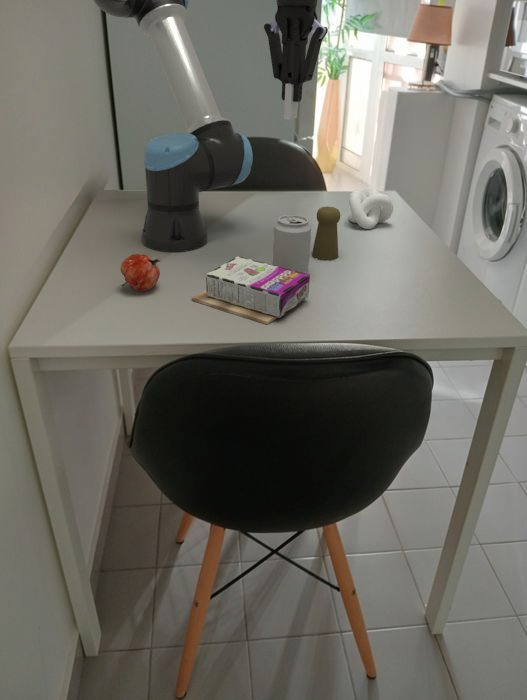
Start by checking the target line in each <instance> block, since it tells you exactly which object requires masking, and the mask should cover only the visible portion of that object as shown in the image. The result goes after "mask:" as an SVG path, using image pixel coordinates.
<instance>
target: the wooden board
mask: <svg viewBox="0 0 527 700" xmlns="http://www.w3.org/2000/svg"><path fill="white" fill-rule="evenodd" d="M191 301H192V302H194V303H195V302H196V303H199V304H201V305H204V306H208V307H211V308H214V309H217V310H220V311H223V312H227V313H230V314H232V315H235V316H239V317H241V318H242V317H243V318H245V319H249V320H251V321H255V322H257V323H261V324H264V325H270V324H271V323H272V322H274V320H276V319H279V318H278V317H275V316H271V315H268V314H265V313H261V312H258V311H255V310H251V309H248V308H245V307H242V306H238V305H235V304H231V303H228V302H224V301H221V300H218V299H214V298H211V297H207V288H206V289H203V291H201V292H199V293H198V294H196V295H193V296H192V297H191Z"/></svg>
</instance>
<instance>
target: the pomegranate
mask: <svg viewBox="0 0 527 700" xmlns="http://www.w3.org/2000/svg"><path fill="white" fill-rule="evenodd" d="M159 262H160V263H161V260H160V259H158V258H156V259H152V257H151V256H149V255H148V254H147V255H146V254H142V253H141V254H139V253H132V254H131V255H129V256H127V257H125V259H124V260H123V261H122V263H121V265H120V268H119V269H120V273H121V274H122V275H123V277H124V281H125V282H124V283H123V284H121V287H124V286H125V285H127V284H128V285H129V286H131V287H132V288H133V289H134V290H135V291H137V292H146V291H149V290H150V289H152V288H153V287H154V286H155V285H156V284H157V283H158V282H159V279H160V276H161V270H160V267H159V266H158V264H157V263H159Z"/></svg>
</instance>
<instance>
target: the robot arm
mask: <svg viewBox="0 0 527 700" xmlns="http://www.w3.org/2000/svg"><path fill="white" fill-rule="evenodd" d="M93 2H94V4H95V5H96V6H97V7H98V8H99V9H100V10H102V11H103V12H105V13H106V14H107V15H110V16H113V17H116V18H126V19H127V18H131V19H133V18H134V19H135V20H136V23H137V26H138V28H139V30H140V32H141V33H142V34H143V35H145V36H147V37H149V38H150V39H151V42H152V45H153V47H154V50H155V54H156V55H157V58H158V60H159V63H160V65H161V67H162V71H163V72H164V75H165V77H166V79H167V82H168V85H169V88H170V90H171V93H172V96H173V97H174V101H175V102H176V105H177V108H178V110H179V113H180V115H181V117H182V120H183V122H184V124H185V125H184V126H185V127H186V130H187V132H176V133H165V134H163V135H162V134H161V135H158V136H156V137H153V138H151V139H150V140H149V141H147V142H146V145H145V147H144V160H143V165H144V171H145V184H146V200H147V212H146V215H145V218H144V223H143V228H142V229H141V230H142V231H141V239H142V241H141V242H142V244H143V245H144V246H146V247H147V248H149V249H152V250H157V251H160V252H173V253H174V252H185V251H186V252H187V251H192V250H196V249H199V248H201V247H203V246H205V244H207V243H208V231H207V228H206V226H205V222H204V221H203V216H202V213H201V210H200V193H201V192H207V191H210V190H217V189H220V188H231V187H232V186H234V185H238V184H240V183H242V182H244V181H245V180H247V178H248V176H249V175H250V173H251V171H252V165H253V162H254V161H253V159H254V158H253V149H252V145H251V142H250V140H249V139H248V137H247V136H246V135H243V133H241V132H237V131H236V132H235V131H234V128H233V126H232V122H231V121H230V119H228V118H226V117H222V115H221V113H220V111H219V107H218V106H217V103H216V100H215V98H214V96H213V95H214V94H213V92H212V90H211V87H210V86H209V83H208V80H207V77H206V75H205V72H204V70H203V67H202V66H201V65H202V64H201V62H200V60H199V57H198V55H197V52H196V50H195V47H194V45H193V42H192V39H191V37H190V35H189V32H188V29H187V27H186V24H185V19H186V17H187V14H188V13H187V9H188V5H189V0H93ZM317 4H318V0H276V5H277V6H276V7H277V9H276V12H275V14H274V19H273V20H272V21H270V22H269V23H265V24H264V25H263V30H264V31H265V33H266V34H265V35H266V36H267V38H268V47H269V52H270V53H269V54H270V60H271V67H272V74H273V75H272V76H273V78H274V79H277V80H278V81H280V82H281V100H282V101H284V110H283V119H284V120H288V121H290V120H297V119H298V110H299V109H298V107H299V106H298V105H299V102H301V101H302V97H303V84H304V83H307V82H310V81H312V80H313V78H314V77H313V76H314V73H315V70H316V65H317V62H318V58H319V54H320V51H321V47H322V43H323V40H324V38H325V37H326V36H327V33H328V32H329V28H328V27H327V26H323V25H322V24H321V23H320V22H319V21H318V14H317V11H316V10H317ZM279 32H280V33H281V36H280V33H279ZM310 33H311V38H310V39H308V38H309V35H310ZM308 41H309V42H308ZM308 43H309V44H308ZM307 45H308V47H307Z"/></svg>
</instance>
